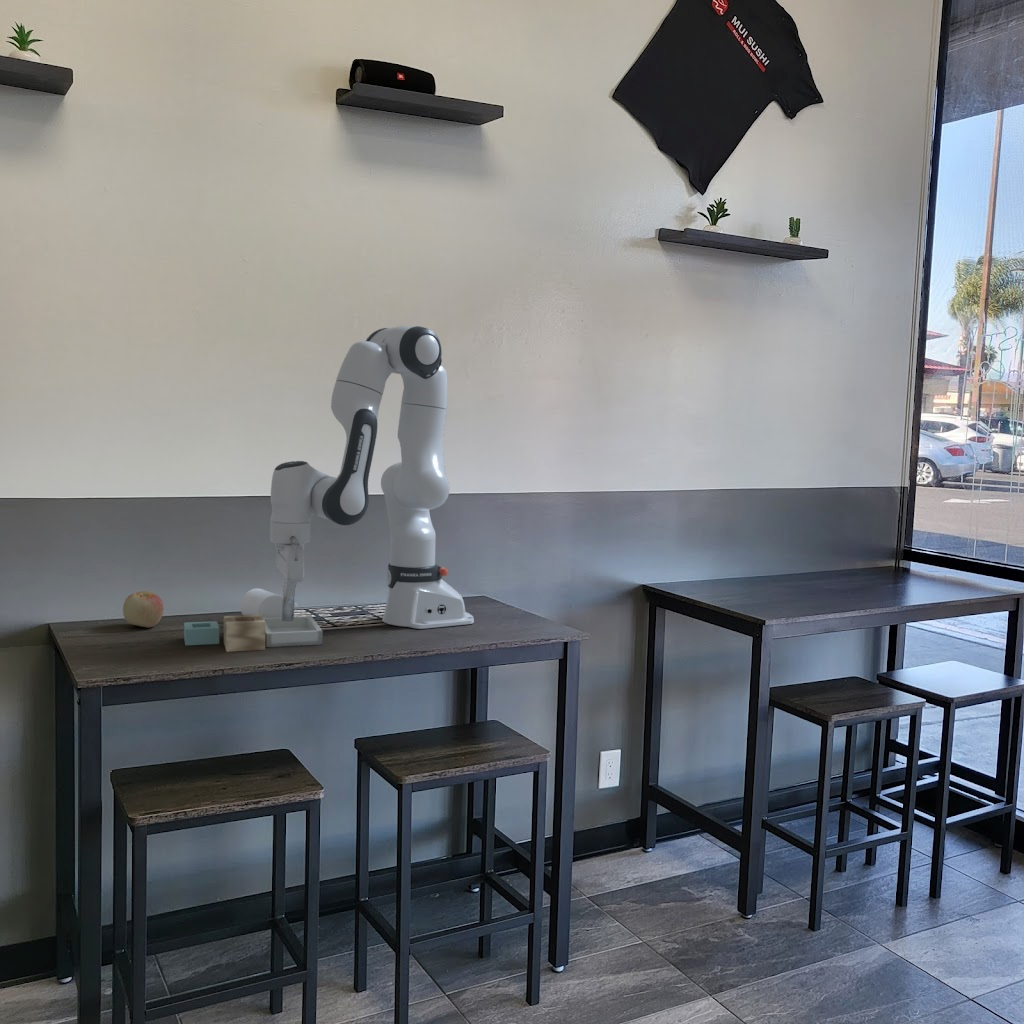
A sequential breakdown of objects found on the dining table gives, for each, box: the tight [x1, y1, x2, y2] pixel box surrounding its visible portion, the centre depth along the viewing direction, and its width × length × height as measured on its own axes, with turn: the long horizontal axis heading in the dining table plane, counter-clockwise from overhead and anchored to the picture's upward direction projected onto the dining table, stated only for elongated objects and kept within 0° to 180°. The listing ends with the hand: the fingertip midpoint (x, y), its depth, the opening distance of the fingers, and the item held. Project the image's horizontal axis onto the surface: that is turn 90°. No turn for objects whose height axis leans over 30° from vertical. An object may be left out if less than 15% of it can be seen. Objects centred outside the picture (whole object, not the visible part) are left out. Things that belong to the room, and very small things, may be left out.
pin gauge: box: [282, 575, 295, 621], centre depth 223 cm, size 3×3×12 cm
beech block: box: [223, 614, 266, 653], centre depth 215 cm, size 8×8×6 cm
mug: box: [239, 587, 299, 618], centre depth 238 cm, size 12×10×8 cm
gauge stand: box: [183, 620, 220, 646], centre depth 219 cm, size 7×7×4 cm
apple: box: [122, 590, 165, 628], centre depth 230 cm, size 9×9×8 cm
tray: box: [263, 615, 323, 648], centre depth 224 cm, size 12×16×3 cm
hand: (289, 595), depth 223 cm, fingers closed on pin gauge, 3 cm apart
